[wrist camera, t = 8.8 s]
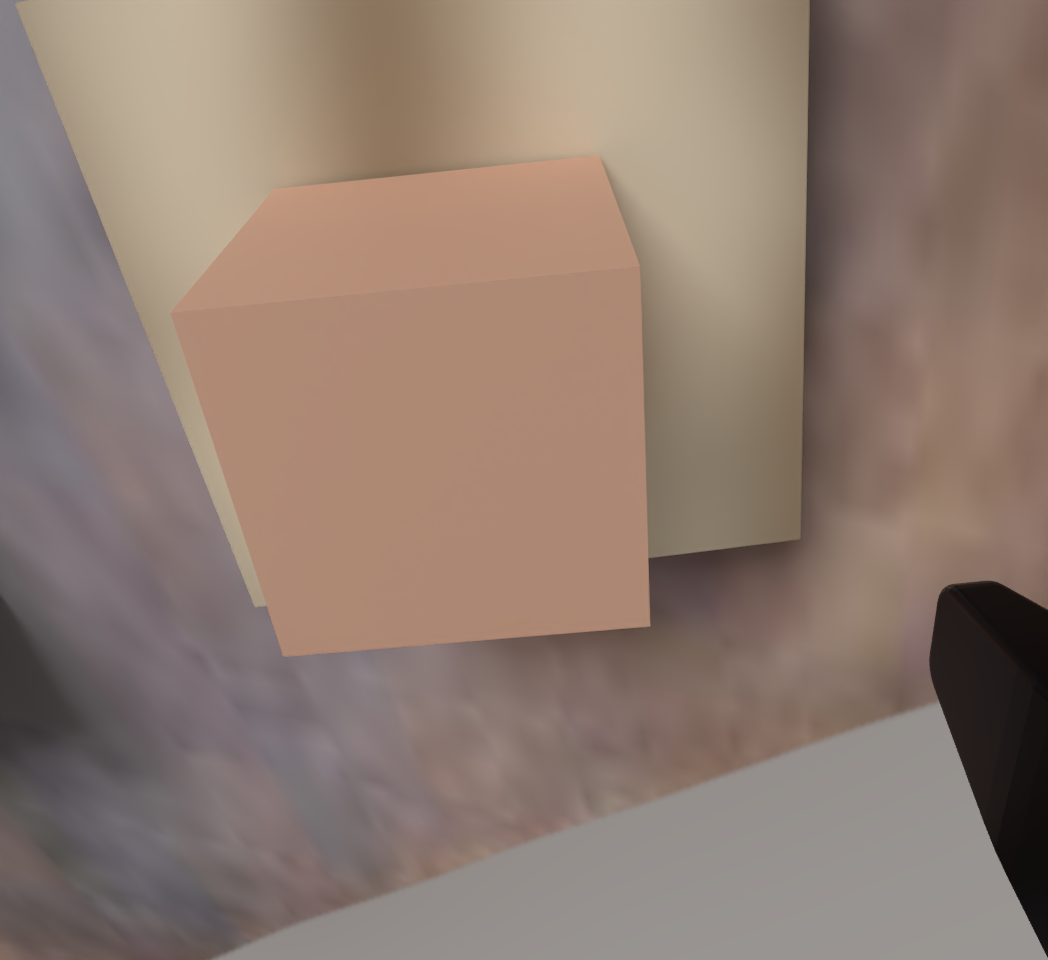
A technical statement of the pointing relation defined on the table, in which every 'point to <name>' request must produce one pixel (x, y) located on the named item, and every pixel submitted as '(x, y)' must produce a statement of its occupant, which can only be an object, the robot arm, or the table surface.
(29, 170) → the table surface
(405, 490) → the terracotta cube
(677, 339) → the plinth
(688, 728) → the table surface
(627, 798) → the table surface
